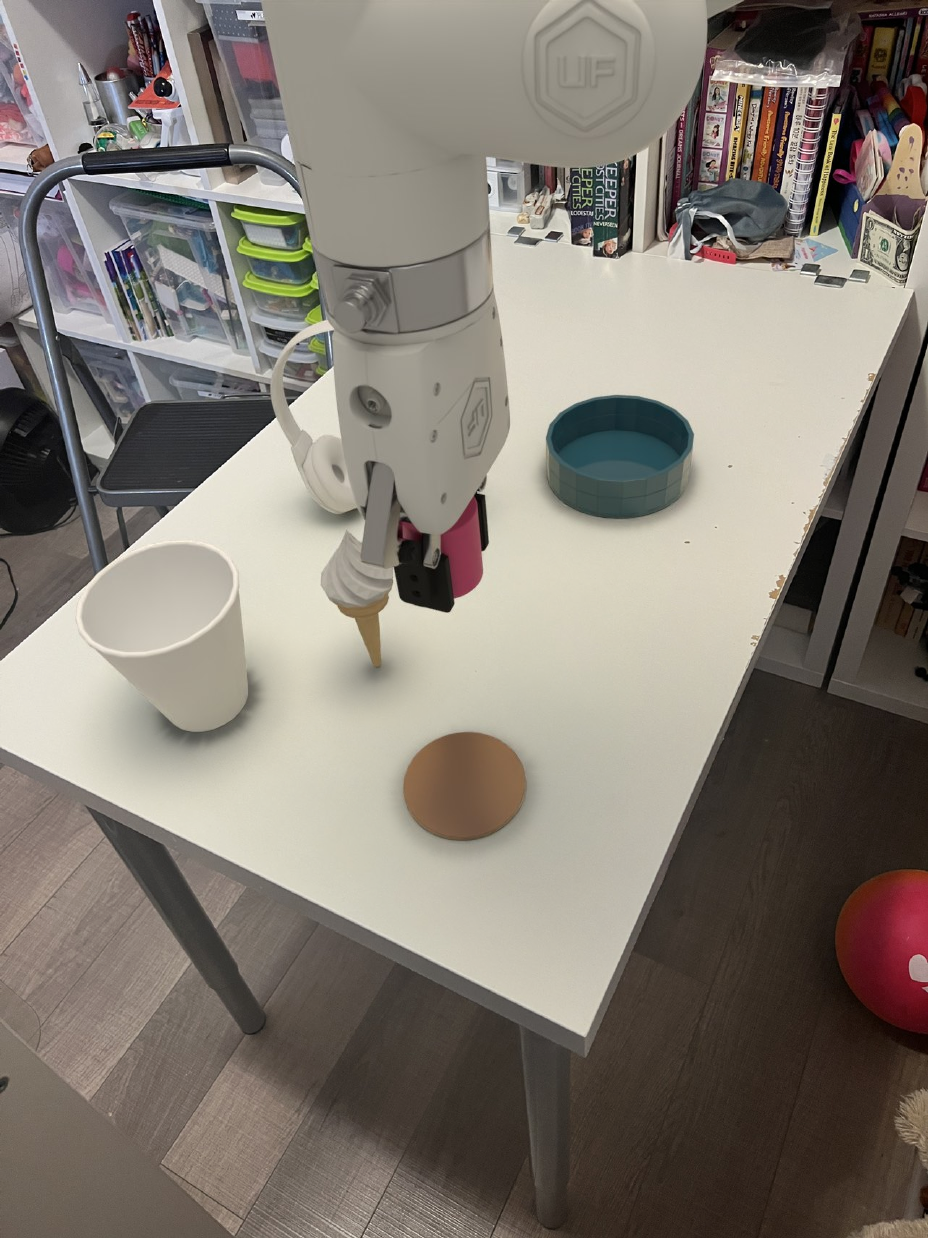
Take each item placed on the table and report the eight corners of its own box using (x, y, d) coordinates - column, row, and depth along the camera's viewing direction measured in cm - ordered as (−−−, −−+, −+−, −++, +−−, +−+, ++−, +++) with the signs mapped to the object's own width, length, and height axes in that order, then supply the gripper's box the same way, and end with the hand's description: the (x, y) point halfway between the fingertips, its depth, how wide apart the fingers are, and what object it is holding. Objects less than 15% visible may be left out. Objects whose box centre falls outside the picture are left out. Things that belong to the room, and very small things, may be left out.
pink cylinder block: (465, 539, 53) (459, 473, 50) (495, 585, 50) (490, 518, 47) (397, 562, 52) (385, 496, 49) (423, 610, 50) (412, 544, 46)
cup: (194, 629, 79) (146, 524, 70) (306, 667, 74) (270, 560, 65) (105, 731, 72) (38, 628, 63) (223, 778, 67) (170, 676, 58)
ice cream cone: (331, 673, 74) (291, 539, 63) (373, 630, 77) (341, 495, 66) (383, 701, 71) (351, 566, 60) (424, 656, 74) (400, 519, 63)
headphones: (313, 481, 92) (265, 300, 77) (488, 485, 89) (473, 298, 74) (294, 527, 87) (240, 343, 72) (478, 533, 84) (460, 343, 70)
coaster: (495, 719, 69) (495, 715, 69) (546, 811, 63) (546, 807, 63) (387, 762, 67) (386, 758, 67) (430, 860, 61) (429, 856, 61)
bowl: (642, 417, 95) (645, 380, 91) (716, 490, 86) (723, 452, 82) (524, 456, 92) (522, 419, 89) (588, 535, 83) (589, 498, 79)
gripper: (400, 388, 32) (447, 699, 45) (551, 197, 42) (553, 496, 55) (226, 359, 34) (320, 663, 47) (409, 185, 44) (444, 475, 58)
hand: (445, 571), depth 51 cm, fingers closed on pink cylinder block, 4 cm apart
